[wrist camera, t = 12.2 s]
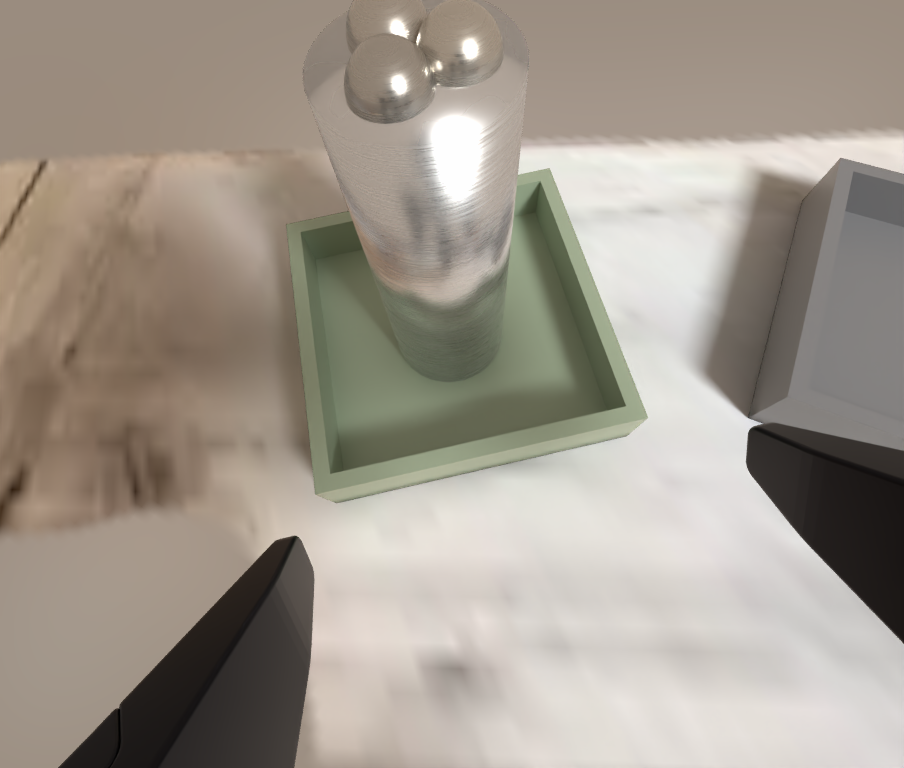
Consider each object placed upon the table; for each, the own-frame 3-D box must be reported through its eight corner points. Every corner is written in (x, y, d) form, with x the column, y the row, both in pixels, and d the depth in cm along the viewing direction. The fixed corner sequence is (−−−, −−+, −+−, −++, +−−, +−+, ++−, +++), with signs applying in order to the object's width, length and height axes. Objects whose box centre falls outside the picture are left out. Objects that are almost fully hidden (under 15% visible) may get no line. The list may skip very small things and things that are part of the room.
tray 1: (626, 436, 19) (648, 417, 17) (336, 503, 19) (315, 494, 16) (542, 208, 23) (549, 168, 21) (306, 259, 23) (286, 224, 21)
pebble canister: (506, 377, 20) (550, 85, 8) (399, 385, 20) (275, 112, 8) (496, 285, 21) (519, -73, 9) (397, 293, 21) (293, -49, 9)
